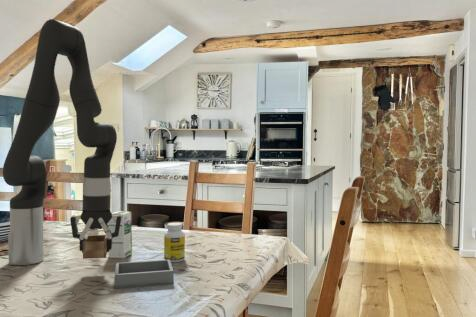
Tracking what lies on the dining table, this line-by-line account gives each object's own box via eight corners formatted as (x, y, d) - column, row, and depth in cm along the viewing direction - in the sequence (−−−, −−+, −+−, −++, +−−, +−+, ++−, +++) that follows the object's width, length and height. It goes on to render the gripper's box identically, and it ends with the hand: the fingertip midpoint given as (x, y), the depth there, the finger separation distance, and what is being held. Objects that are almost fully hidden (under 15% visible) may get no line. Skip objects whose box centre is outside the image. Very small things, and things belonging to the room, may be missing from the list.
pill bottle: (165, 263, 129) (165, 226, 128) (163, 257, 135) (163, 222, 134) (186, 262, 130) (186, 225, 130) (183, 256, 137) (183, 221, 136)
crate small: (82, 258, 113) (83, 242, 113) (86, 250, 122) (86, 235, 121) (105, 257, 115) (106, 241, 115) (107, 249, 123) (108, 234, 123)
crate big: (114, 288, 107) (114, 275, 106) (116, 275, 117) (116, 262, 117) (173, 283, 110) (173, 270, 110) (169, 271, 121) (169, 259, 121)
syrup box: (124, 258, 134) (124, 214, 133) (107, 257, 135) (107, 213, 134) (132, 254, 139) (132, 211, 139) (116, 253, 141) (115, 210, 140)
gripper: (67, 195, 112) (66, 256, 113) (122, 194, 115) (121, 254, 116) (71, 191, 119) (70, 249, 120) (123, 191, 123) (122, 247, 124)
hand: (95, 251), depth 118 cm, fingers closed on crate small, 6 cm apart
